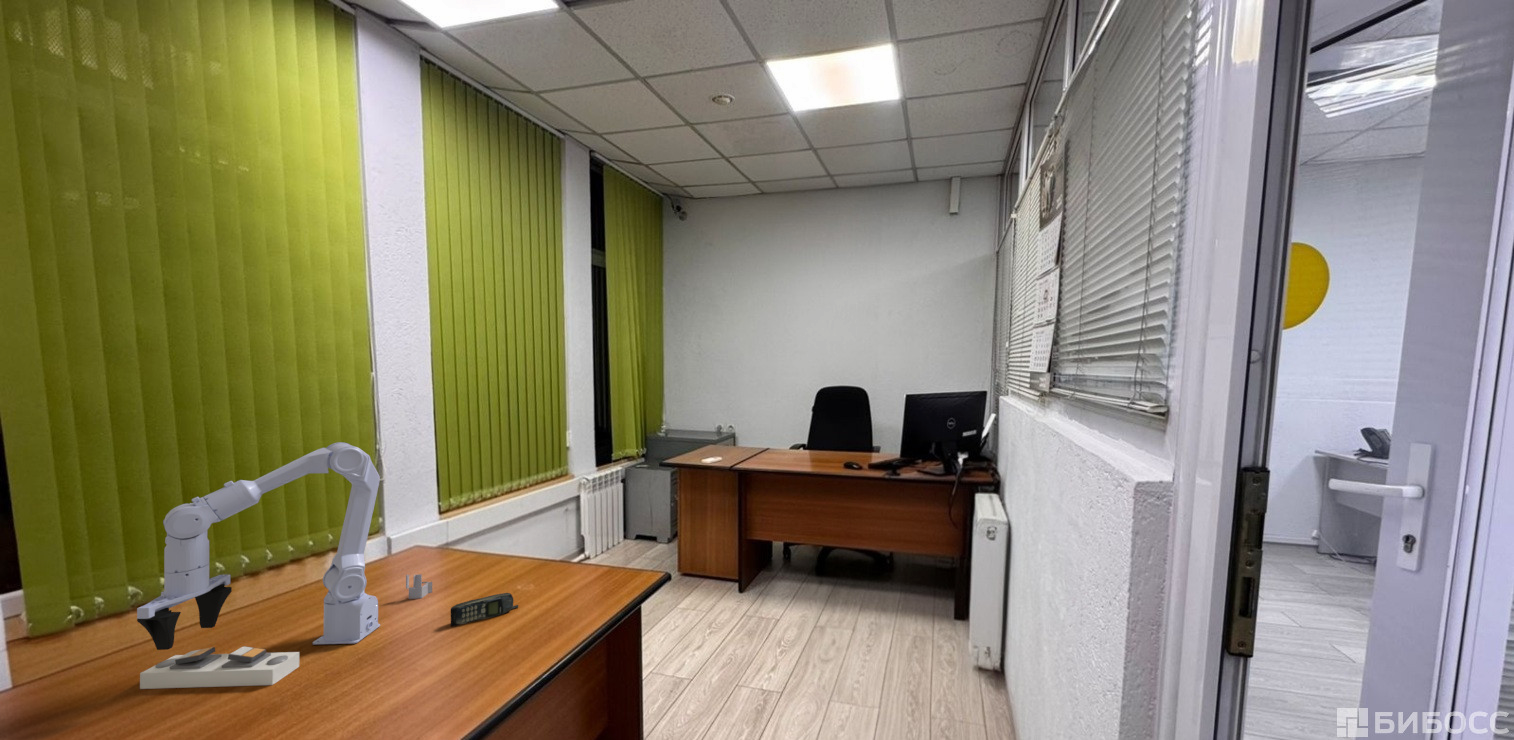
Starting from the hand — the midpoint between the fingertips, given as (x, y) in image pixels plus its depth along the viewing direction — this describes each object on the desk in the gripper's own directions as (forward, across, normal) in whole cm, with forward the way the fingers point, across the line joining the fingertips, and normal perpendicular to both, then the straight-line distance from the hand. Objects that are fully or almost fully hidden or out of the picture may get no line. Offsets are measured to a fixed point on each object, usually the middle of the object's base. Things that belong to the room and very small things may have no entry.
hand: (187, 637), depth 96 cm
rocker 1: (+5, -2, -1) cm, 6 cm away
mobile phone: (+10, -25, +44) cm, 52 cm away
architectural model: (+10, -40, +16) cm, 44 cm away
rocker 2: (+5, -2, +9) cm, 10 cm away
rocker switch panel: (+9, -2, +4) cm, 10 cm away
